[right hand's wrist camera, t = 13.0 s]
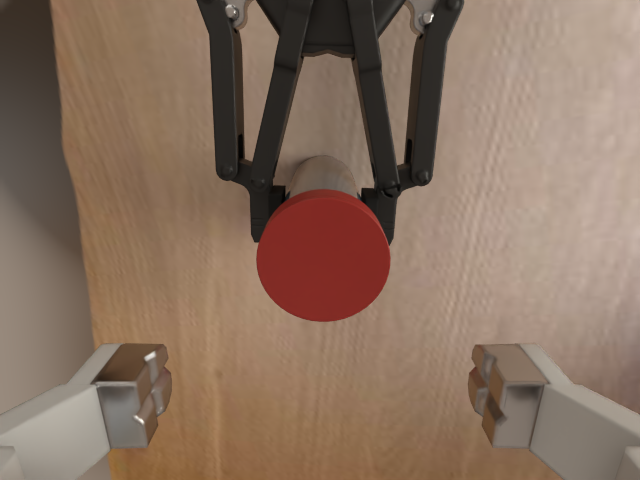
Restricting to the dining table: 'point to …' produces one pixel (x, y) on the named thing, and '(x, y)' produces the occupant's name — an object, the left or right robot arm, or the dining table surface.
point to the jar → (322, 177)
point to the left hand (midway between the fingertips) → (320, 288)
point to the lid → (323, 256)
